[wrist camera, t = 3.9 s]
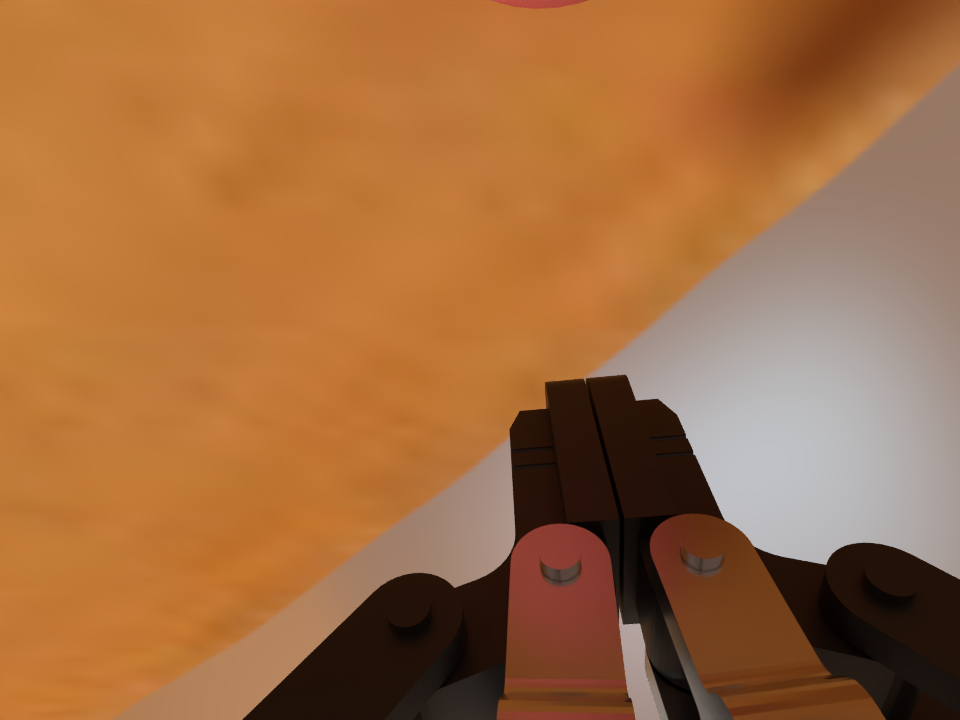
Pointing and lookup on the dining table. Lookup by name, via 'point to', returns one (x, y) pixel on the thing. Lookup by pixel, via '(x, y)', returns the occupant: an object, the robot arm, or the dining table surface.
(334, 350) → the dining table surface
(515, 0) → the ball
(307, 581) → the dining table surface
